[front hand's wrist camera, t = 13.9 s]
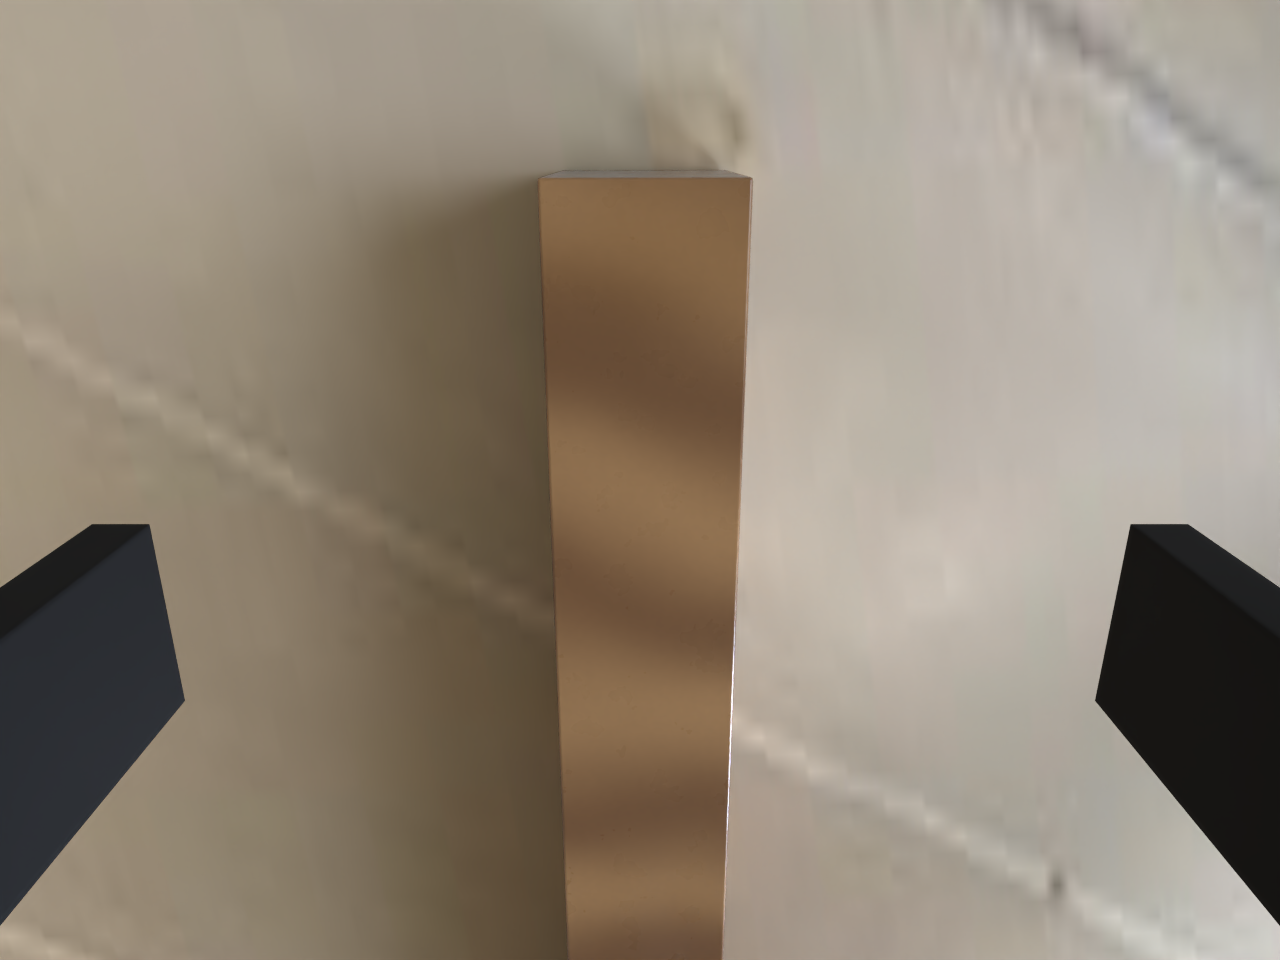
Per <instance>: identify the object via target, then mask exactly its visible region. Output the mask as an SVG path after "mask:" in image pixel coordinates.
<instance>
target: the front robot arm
mask: <svg viewBox="0 0 1280 960" xmlns="http://www.w3.org/2000/svg"><path fill="white" fill-rule="evenodd" d="M184 701H185V699H184V694H183V689H182V684H181V679H180V674H179V669H178V664H177V659H176V654H175V649H174V644H173V639H172V634H171V629H170V625H169V620H168V615H167V610H166V605H165V600H164V595H163V590H162V585H161V580H160V575H159V570H158V565H157V560H156V555H155V550H154V545H153V540H152V535H151V530H150V525H149V524H92V525H90V526H89V527H87V528H86V529H85V530H83V531H82V532H80V533H79V534H77V535H76V536H74V537H73V538H72V539H70V540H69V541H67V542H66V543H64V544H63V545H61V546H60V547H58V548H57V549H56V550H54V551H53V552H51V553H50V554H48V555H47V556H45V557H44V558H43V559H41V560H40V561H38V562H37V563H35V564H34V565H32V566H31V567H29V568H28V569H27V570H25V571H24V572H22V573H21V574H19V575H18V576H16V577H15V578H14V579H12V580H11V581H9V582H8V583H6V584H5V585H3V586H2V587H1V588H0V925H1V924H2V923H3V922H4V920H5V919H6V918H7V917H8V915H9V914H10V913H11V912H12V911H13V909H14V908H15V907H16V906H17V904H18V903H19V902H20V901H21V900H22V898H23V897H24V896H25V895H26V894H27V892H28V891H29V890H30V889H31V887H32V886H33V885H34V884H35V883H36V881H37V880H38V879H39V878H40V876H41V875H42V874H43V873H44V872H45V870H46V869H47V868H48V867H49V866H50V864H51V863H52V862H53V861H54V859H55V858H56V857H57V856H58V855H59V853H60V852H61V851H62V850H63V848H64V847H65V846H66V845H67V844H68V842H69V841H70V840H71V839H72V837H73V836H74V835H75V834H76V833H77V831H78V830H79V829H80V828H81V827H82V825H83V824H84V823H85V822H86V820H87V819H88V818H89V817H90V816H91V814H92V813H93V812H94V811H95V809H96V808H97V807H98V806H99V805H100V803H101V802H102V801H103V800H104V799H105V797H106V796H107V795H108V794H109V792H110V791H111V790H112V789H113V788H114V786H115V785H116V784H117V783H118V781H119V780H120V779H121V778H122V777H123V775H124V774H125V773H126V772H127V770H128V769H129V768H130V767H131V766H132V764H133V763H134V762H135V761H136V760H137V758H138V757H139V756H140V755H141V753H142V752H143V751H144V750H145V749H146V747H147V746H148V745H149V744H150V742H151V741H152V740H153V739H154V738H155V736H156V735H157V734H158V733H159V731H160V730H161V729H162V728H163V727H164V725H165V724H166V723H167V722H168V721H169V719H170V718H171V717H172V716H173V714H174V713H175V712H176V711H177V710H178V708H179V707H180V706H181V705H182V703H183V702H184ZM1095 701H1096V702H1097V703H1098V705H1099V706H1100V707H1101V708H1102V710H1103V711H1104V712H1105V713H1106V714H1107V716H1108V717H1109V718H1110V719H1111V721H1112V722H1113V723H1114V724H1115V725H1116V727H1117V728H1118V729H1119V730H1120V731H1121V733H1122V734H1123V735H1124V736H1125V738H1126V739H1127V740H1128V741H1129V742H1130V744H1131V745H1132V746H1133V747H1134V749H1135V750H1136V751H1137V752H1138V753H1139V755H1140V756H1141V757H1142V758H1143V760H1144V761H1145V762H1146V763H1147V764H1148V766H1149V767H1150V768H1151V769H1152V770H1153V772H1154V773H1155V774H1156V775H1157V777H1158V778H1159V779H1160V780H1161V781H1162V783H1163V784H1164V785H1165V786H1166V788H1167V789H1168V790H1169V791H1170V792H1171V794H1172V795H1173V796H1174V797H1175V799H1176V800H1177V801H1178V802H1179V803H1180V805H1181V806H1182V807H1183V808H1184V809H1185V811H1186V812H1187V813H1188V814H1189V816H1190V817H1191V818H1192V819H1193V820H1194V822H1195V823H1196V824H1197V825H1198V827H1199V828H1200V829H1201V830H1202V831H1203V833H1204V834H1205V835H1206V836H1207V837H1208V839H1209V840H1210V841H1211V842H1212V844H1213V845H1214V846H1215V847H1216V848H1217V850H1218V851H1219V852H1220V853H1221V855H1222V856H1223V857H1224V858H1225V859H1226V861H1227V862H1228V863H1229V864H1230V866H1231V867H1232V868H1233V869H1234V870H1235V872H1236V873H1237V874H1238V875H1239V876H1240V878H1241V879H1242V880H1243V881H1244V883H1245V884H1246V885H1247V886H1248V887H1249V889H1250V890H1251V891H1252V892H1253V894H1254V895H1255V896H1256V897H1257V898H1258V900H1259V901H1260V902H1261V903H1262V904H1263V906H1264V907H1265V908H1266V909H1267V911H1268V912H1269V913H1270V914H1271V915H1272V917H1273V918H1274V919H1275V920H1276V922H1277V923H1278V924H1279V925H1280V588H1279V587H1278V586H1277V585H1275V584H1274V583H1272V582H1271V581H1269V580H1268V579H1266V578H1265V577H1264V576H1262V575H1261V574H1259V573H1258V572H1256V571H1255V570H1253V569H1252V568H1251V567H1249V566H1248V565H1246V564H1245V563H1243V562H1242V561H1240V560H1239V559H1237V558H1236V557H1235V556H1233V555H1232V554H1230V553H1229V552H1227V551H1226V550H1224V549H1223V548H1222V547H1220V546H1219V545H1217V544H1216V543H1214V542H1213V541H1211V540H1210V539H1208V538H1207V537H1206V536H1204V535H1203V534H1201V533H1200V532H1198V531H1197V530H1195V529H1194V528H1193V527H1191V526H1190V525H1188V524H1131V525H1130V530H1129V535H1128V540H1127V545H1126V550H1125V555H1124V560H1123V565H1122V570H1121V575H1120V580H1119V585H1118V590H1117V595H1116V600H1115V605H1114V610H1113V615H1112V620H1111V625H1110V629H1109V634H1108V639H1107V644H1106V649H1105V654H1104V659H1103V664H1102V669H1101V674H1100V679H1099V684H1098V689H1097V694H1096V699H1095Z"/></svg>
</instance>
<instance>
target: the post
mask: <svg viewBox="0 0 1280 960" xmlns="http://www.w3.org/2000/svg"><path fill="white" fill-rule="evenodd" d="M537 183H538V209H539V234H540V260H541V286H542V311H543V337H544V362H545V388H546V414H547V439H548V465H549V490H550V516H551V542H552V567H553V593H554V619H555V644H556V670H557V695H558V721H559V747H560V772H561V798H562V823H563V849H564V875H565V900H566V926H567V951H568V960H723V947H724V921H725V895H726V869H727V843H728V817H729V791H730V765H731V739H732V713H733V687H734V661H735V635H736V609H737V583H738V557H739V531H740V505H741V479H742V453H743V427H744V401H745V375H746V349H747V323H748V297H749V271H750V245H751V219H752V193H753V179H752V178H751V177H748V176H744V175H741V174H737V173H733V172H730V171H726V170H568V171H560V172H557V173H554V174H550V175H547V176H544V177H541V178H539V179H538V181H537Z"/></svg>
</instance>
